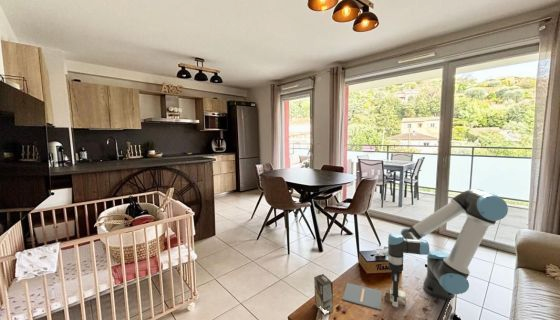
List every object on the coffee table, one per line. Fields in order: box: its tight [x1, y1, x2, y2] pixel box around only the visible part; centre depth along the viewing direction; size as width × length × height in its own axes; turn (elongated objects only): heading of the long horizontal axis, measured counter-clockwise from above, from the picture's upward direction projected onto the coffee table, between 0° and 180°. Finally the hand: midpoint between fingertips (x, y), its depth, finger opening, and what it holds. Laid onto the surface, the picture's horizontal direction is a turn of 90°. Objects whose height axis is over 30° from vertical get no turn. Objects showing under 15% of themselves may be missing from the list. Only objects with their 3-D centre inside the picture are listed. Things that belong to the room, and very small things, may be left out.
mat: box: [341, 282, 383, 311], centre depth 132 cm, size 20×16×1 cm
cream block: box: [384, 287, 407, 306], centre depth 128 cm, size 10×5×4 cm, turn 64°
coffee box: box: [313, 273, 334, 313], centre depth 123 cm, size 9×6×16 cm
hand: (395, 299), depth 128 cm, fingers open, 11 cm apart
